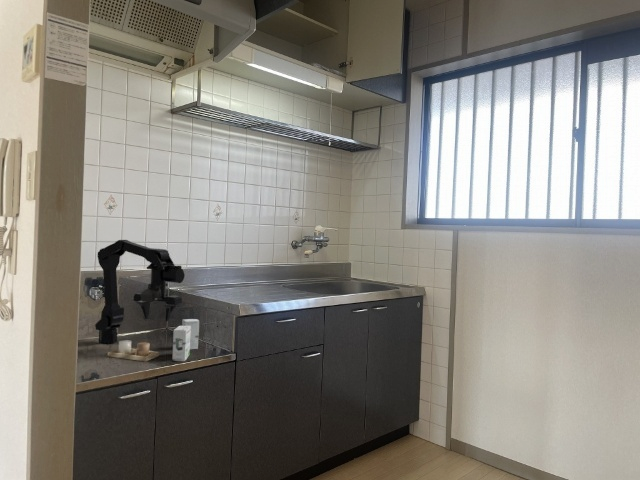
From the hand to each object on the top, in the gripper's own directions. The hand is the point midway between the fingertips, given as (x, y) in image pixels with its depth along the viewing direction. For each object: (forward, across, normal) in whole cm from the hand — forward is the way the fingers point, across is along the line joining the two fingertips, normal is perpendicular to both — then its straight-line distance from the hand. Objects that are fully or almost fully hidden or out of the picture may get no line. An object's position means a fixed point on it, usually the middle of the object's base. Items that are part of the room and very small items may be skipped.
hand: (156, 320), depth 195 cm
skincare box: (+13, +10, +9) cm, 19 cm away
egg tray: (+12, -2, -11) cm, 17 cm away
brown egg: (+12, +2, -11) cm, 16 cm away
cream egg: (+12, -6, -11) cm, 17 cm away
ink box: (+13, +14, -4) cm, 19 cm away
